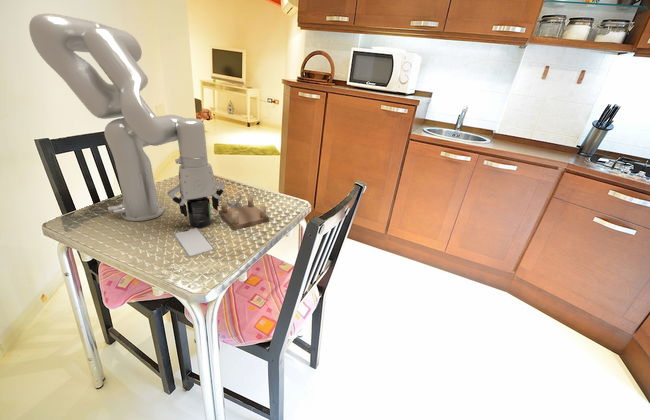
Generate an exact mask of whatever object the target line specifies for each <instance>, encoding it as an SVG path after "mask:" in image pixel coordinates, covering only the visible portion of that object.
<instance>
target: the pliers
mask: <svg viewBox="0 0 650 420" xmlns="http://www.w3.org/2000/svg"><path fill="white" fill-rule="evenodd" d="M236 193H237V195H238V196H239V197H238V199H236V201H235V203H232V202H229V201H227V206H228V205H229V207H230V208H234V207H239V206H241V204H240V201H241V200H242V194H241V193H239V192H236ZM222 200H223V199H221V198H220V197H219V199H218V201H220V202H221V201H222Z"/></svg>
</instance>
